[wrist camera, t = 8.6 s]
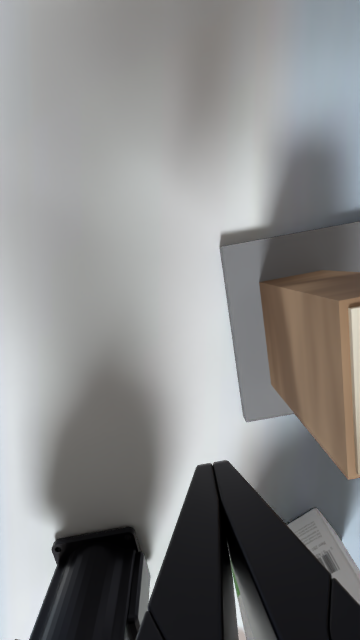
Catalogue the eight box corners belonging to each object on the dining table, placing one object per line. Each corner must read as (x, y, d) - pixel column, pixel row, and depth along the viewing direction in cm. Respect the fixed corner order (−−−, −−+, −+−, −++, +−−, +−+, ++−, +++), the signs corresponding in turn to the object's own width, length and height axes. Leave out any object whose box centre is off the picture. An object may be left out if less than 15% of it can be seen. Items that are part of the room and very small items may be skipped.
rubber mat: (243, 415, 19) (246, 422, 18) (219, 247, 17) (222, 246, 16) (434, 381, 19) (445, 386, 18) (440, 206, 17) (453, 204, 16)
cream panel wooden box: (271, 384, 18) (350, 482, 10) (259, 282, 16) (341, 301, 8) (329, 374, 18) (456, 463, 10) (322, 270, 16) (466, 278, 8)
